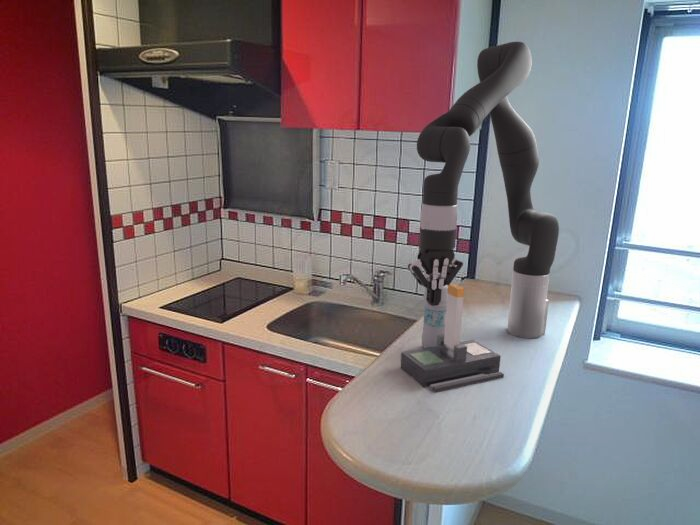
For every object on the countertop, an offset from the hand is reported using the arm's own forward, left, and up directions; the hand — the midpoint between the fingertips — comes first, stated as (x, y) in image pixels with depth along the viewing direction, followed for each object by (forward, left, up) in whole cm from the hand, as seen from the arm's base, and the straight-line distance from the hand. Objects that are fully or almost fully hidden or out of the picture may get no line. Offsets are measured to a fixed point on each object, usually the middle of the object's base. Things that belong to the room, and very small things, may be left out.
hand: (433, 304), depth 113 cm
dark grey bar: (-6, +7, -16) cm, 19 cm away
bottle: (-9, -12, -17) cm, 22 cm away
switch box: (-6, 0, -16) cm, 17 cm away
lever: (-6, 0, -11) cm, 12 cm away
